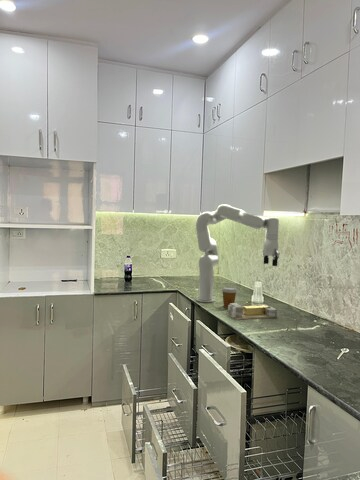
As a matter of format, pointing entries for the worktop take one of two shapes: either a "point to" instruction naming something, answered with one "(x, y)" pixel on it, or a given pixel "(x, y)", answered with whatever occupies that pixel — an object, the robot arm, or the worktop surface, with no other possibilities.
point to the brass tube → (254, 309)
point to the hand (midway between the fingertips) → (270, 264)
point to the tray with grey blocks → (237, 313)
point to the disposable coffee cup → (228, 295)
